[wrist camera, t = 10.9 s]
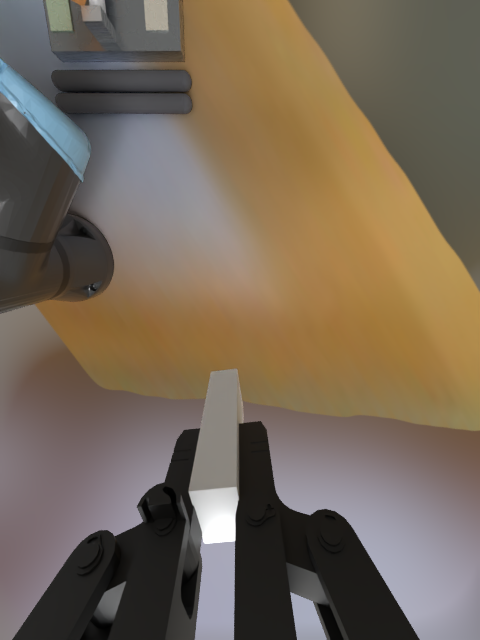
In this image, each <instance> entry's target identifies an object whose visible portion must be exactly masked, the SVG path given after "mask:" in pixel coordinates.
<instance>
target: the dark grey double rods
mask: <svg viewBox="0 0 480 640" xmlns="http://www.w3.org/2000/svg"><path fill="white" fill-rule="evenodd" d="M51 78H52V81H53V83H54V85H55V86H56V87H57V88H58V89H59V90H61V91H63V92H187V91H189V90H190V88H191V84H192V81H191V77H190V75H189V74H188V72H186V71H185V70H55V71H53V72H52V75H51ZM55 100H56V104H57V106H58V107H59V108H60V109H61V110H62V111H63V112H65V113H135V114H187V113H189V112H190V111H191V109H192V101H191V98H190V97H189V96H188V95H187V94H185V93H59V94H57V95H56V98H55Z"/></svg>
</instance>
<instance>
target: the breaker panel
mask: <svg viewBox="0 0 480 640" xmlns="http://www.w3.org/2000/svg"><path fill="white" fill-rule="evenodd" d="M43 3H44V9H45V14H46V20H47V26H48V32H49V38H50V44H51V49H52V52H53V53H54V54H55V55H56V56H57V57H58V58H59V59H60V60H61V61H62V62H185V54H184V27H183V1H182V0H105V7H106V14H105V12H104V11H103V9H102V8H101V6H100V5H96V6H90V4H89V0H86V2H85V6H81V5H79V4H77V3H75V2H74V1H72V0H43Z"/></svg>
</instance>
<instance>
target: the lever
mask: <svg viewBox="0 0 480 640" xmlns="http://www.w3.org/2000/svg"><path fill="white" fill-rule="evenodd" d="M72 1H74V2H75V3H77V4H79V5H81V6H85V2H86V0H72ZM89 4H90V6H96V5H100V6H101V8H102V9H103V11H104V12H105V14H106V7H105V0H89Z"/></svg>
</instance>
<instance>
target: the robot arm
mask: <svg viewBox="0 0 480 640" xmlns="http://www.w3.org/2000/svg"><path fill="white" fill-rule="evenodd" d="M90 155H91V146H90V142H89V140H88V138H87V136H86V135H85V133H84V132H83V131H82V130H81V129H80V128H79V127H78V126H77V125H76V124H75V123H74V122H73V121H72V120H71V119H70V118H69V117H68V116H67V115H65V114H64V113H63V112H62V111H61V110H60V109H59V108H58V107H57V106H55V105H54V104H53V103H52V102H51V101H50V100H49V99H48V98H46V97H45V96H44V95H43V94H42V93H41V92H40V91H38V90H37V89H36V88H35V87H34V86H33V85H32V84H30V83H29V82H28V81H27V80H26V79H25V78H23V77H22V76H21V75H20V74H19V73H18V72H16V71H15V70H14V69H13V68H12V67H11V66H9V65H8V64H6V63H5V62H4V61H3V60H2V59H1V58H0V314H1V313H4V312H8V311H11V310H15V309H18V308H21V307H25V306H28V305H32V304H35V303H39V302H42V301H46V300H49V299H50V300H60V301H70V302H76V301H83V300H87V299H90V298H93V297H95V296H97V295H99V294H101V293H102V292H103V291H104V290H105V289H106V288H107V286H108V285H109V283H110V281H111V279H112V275H113V269H114V263H113V256H112V252H111V250H110V247H109V245H108V243H107V241H106V239H105V238H104V236H103V235H102V234H101V233H100V231H99V230H98V229H97V228H96V227H95V226H93V225H92V224H91V223H89V222H88V221H86V220H85V219H83V218H80V217H78V216H75V215H71V214H67V212H68V210H69V207H70V205H71V203H72V200H73V198H74V195H75V193H76V191H77V188H78V186H79V184H80V182H82V183H83V181H84V177H83V174H84V172H85V169H86V166H87V163H88V161H89V158H90ZM273 479H274V478H273V471H272V465H271V459H270V451H269V444H268V437H267V430H266V428H265V427H264V425H263V424H262V422H261V421H258V422H249V423H244V421H243V403H242V397H241V390H240V384H239V377H238V371H237V369H231V370H222V371H213V372H211V375H210V380H209V385H208V391H207V396H206V401H205V406H204V412H203V417H202V423H201V427H200V428H199V429H189V430H184V431H183V433H182V434H181V435H180V436H179V438H178V439H177V442H176V445H175V448H174V453H173V455H172V459H171V463H170V465H169V469H168V472H167V476H166V479H165V482H164V483H161V484H157V485H156V486H154V487H153V488H151V489H149V490H148V492H147V493H145V495H144V496H143V497H142V498H141V500H140V502H139V504H138V506H137V508H138V510H139V513H140V515H141V517H142V519H143V522H142V523H141V524H139V525H138V526H136V527H134V528H132V529H130V530H127V531H125V532H123V533H121V534H119V535H117V536H114V535H113V534H112V533H111V532H109V531H108V530H104V531H103V530H101V531H98V532H95V533H93V534H91V535H89V536H88V537H87V538H85V539H84V540H83V541H82V542H81V543H80V544H79V545H78V546H77V548H76V549H75V550H74V551H73V552H72V554H71V555H70V556H69V558H68V559H67V561H66V562H65V564H64V566H63V567H62V568H61V570H60V571H59V573H58V574H57V575H56V577H55V578H54V580H53V581H52V583H51V584H50V586H49V587H48V588H47V590H46V591H45V593H44V594H43V596H42V597H41V599H40V600H39V602H38V603H37V605H36V606H35V607H34V609H33V610H32V612H31V613H30V615H29V616H28V618H27V619H26V621H25V622H24V623H23V625H22V627H21V628H20V629H19V631H18V632H17V634H16V635H15V637H14V638H13V639H12V640H194V639H195V630H196V619H197V611H198V601H199V592H200V582H201V572H202V558H201V554H200V547H201V539H202V538H203V541H204V543H205V544H206V543H217V542H229V541H235V611H234V614H235V615H234V640H297V637H296V630H295V623H294V616H293V609H292V602H291V595H290V592H292V593H294V594H297V595H299V596H301V597H304V598H306V599H309V600H311V601H313V603H314V605H315V608H316V611H317V614H318V616H319V619H320V621H321V624H322V627H323V629H324V632H325V635H326V638H327V640H420V639H419V638H418V636H417V635H416V633H415V631H414V629H413V628H412V626H411V624H410V623H409V621H408V620H407V618H406V616H405V615H404V613H403V611H402V610H401V608H400V606H399V605H398V603H397V601H396V600H395V598H394V596H393V595H392V593H391V591H390V590H389V588H388V586H387V585H386V583H385V581H384V580H383V578H382V576H381V575H380V573H379V572H378V570H377V568H376V566H375V565H374V563H373V562H372V560H371V558H370V556H369V555H368V553H367V552H366V550H365V548H364V546H363V545H362V543H361V541H360V540H359V538H358V537H357V535H356V533H355V532H354V530H353V528H352V527H351V525H350V524H349V523H348V522H347V520H346V519H345V518H344V517H342V516H341V515H339V514H338V513H337V512H335V511H331V510H327V509H323V510H317V511H316V512H314V513H313V514H311V515H307V514H303V513H300V512H297V511H294V510H292V509H289V508H288V507H287V506H286V505H284V504H283V503H282V501H281V500H280V499H279V497H278V495H277V493H276V490H275V486H274V480H273Z"/></svg>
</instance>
